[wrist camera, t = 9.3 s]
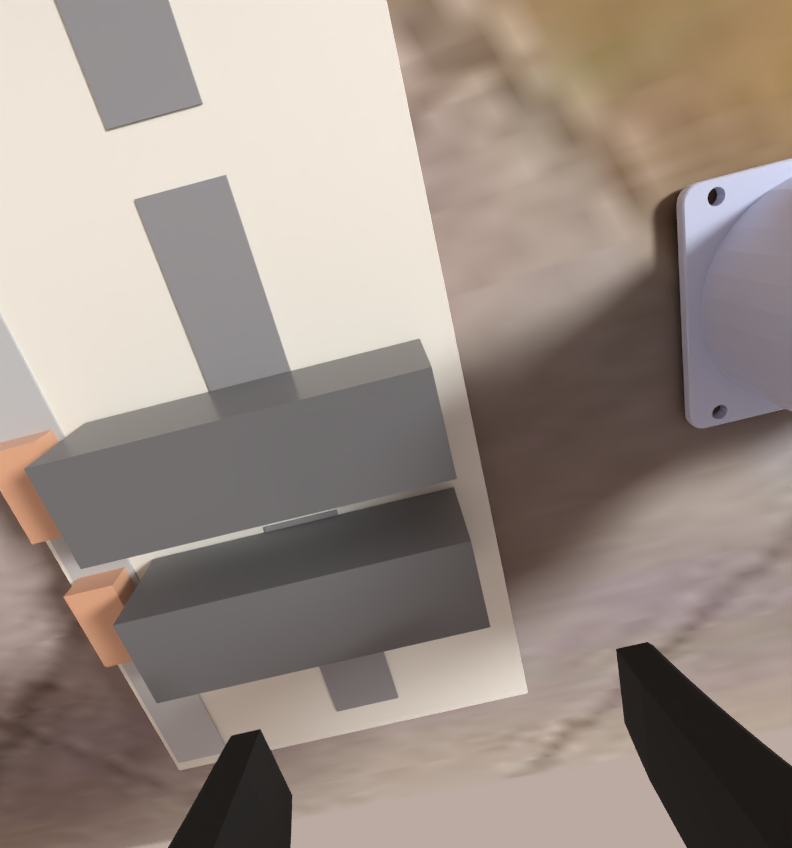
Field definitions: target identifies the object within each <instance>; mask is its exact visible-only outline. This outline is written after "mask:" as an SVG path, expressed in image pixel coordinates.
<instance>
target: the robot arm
mask: <svg viewBox="0 0 792 848" xmlns="http://www.w3.org/2000/svg"><path fill="white" fill-rule="evenodd" d="M713 188H714V189H715V190H716V192H717V198H716V201H715V202H714V203H713V204H712V205H710V204H709V203H708V200H707V198H708V194H709V192H710V191H711V190H712V189H713ZM676 208H677V232H678V256H679V279H680V303H681V327H682V351H683V374H684V398H685V417H686V420H687V421H688V422H689V423H690V424H691V425H693V426H694V427H696V428H699V429H700V428H708V427H712V426H716V425H720V424H724V423H729V422H733V421H737V420H741V419H745V418H749V417H754V416H758V415H762V414H766V413H770V412H774V411H779V410H783V409H787V410H789V411H791V412H792V158H789V159H785V160H781V161H777V162H773V163H769V164H765V165H762V166H758V167H754V168H750V169H746V170H742V171H738V172H735V173H731V174H727V175H723V176H719V177H715V178H711V179H707V180H704V181H700V182H696V183H692V184H690V185H688V186H686V187H685V188H684V189H683V190H682V191H681V192H680V194H679V196H678V198H677V205H676ZM719 405H720V410H719V411H718V413H716V414H714V415H712V412H713V410H714V408H715V407H717V406H719ZM616 651H617V660H618V669H619V678H620V686H621V695H622V704H623V712H624V721H625V725H626V727H627V729H628V732H629V734H630V736H631V739H632V741H633V743H634V746H635V748H636V750H637V752H638V755H639V757H640V759H641V761H642V764H643V766H644V768H645V770H646V772H647V775H648V777H649V779H650V781H651V783H652V785H653V787H654V789H655V790H656V792H657V794H658V796H659V798H660V800H661V802H662V803H663V805H664V807H665V809H666V811H667V813H668V814H669V816H670V818H671V820H672V821H673V823H674V825H675V827H676V829H677V831H678V832H679V834H680V836H681V838H682V840H683V841H684V843H685V845H686V847H687V848H792V766H791V765H790V764H788V763H787V762H786V761H785V760H783V759H782V758H781V757H779V756H778V755H777V754H776V753H775V752H773V751H772V750H771V749H770V748H768V747H767V746H766V745H765V744H763V743H762V742H761V741H760V740H759V739H757V738H756V737H755V736H754V735H753V734H751V733H750V732H749V731H748V730H747V729H745V728H744V727H743V726H742V725H741V724H739V723H738V722H737V721H736V720H735V719H733V718H732V717H731V716H730V715H729V714H727V713H726V712H725V711H724V710H723V709H722V708H720V707H719V706H718V705H717V704H716V703H715V702H714V701H712V700H711V699H710V698H709V697H708V696H707V695H706V694H705V693H703V692H702V691H701V690H700V689H699V688H698V687H697V686H696V685H695V684H693V683H692V682H691V681H690V680H689V679H688V678H687V677H686V676H685V675H684V674H682V673H681V672H680V671H679V670H678V669H677V668H676V667H675V666H674V665H673V664H672V663H671V662H670V661H669V660H668V659H667V658H666V657H664V656H663V655H662V654H661V653H660V652H659V651H658V650H657V649H656V648H655V647H654V646H653V645H651V644H650V643H648V642H646V643H641V644H637V645H632V646H628V647H624V648H619V649H616ZM291 819H292V794H291V792H290V790H289V788H288V786H287V784H286V781H285V779H284V777H283V775H282V773H281V771H280V769H279V767H278V765H277V763H276V761H275V758H274V756H273V754H272V752H271V750H270V748H269V746H268V744H267V742H266V740H265V738H264V735H263V733H262V731H261V729H258V730H254V731H250V732H245V733H241V734H236V735H232V736H231V737H230V738H229V740H228V742H227V743H226V745H225V747H224V749H223V751H222V752H221V754H220V756H219V758H218V760H217V761H216V763H215V765H214V767H213V769H212V771H211V772H210V774H209V776H208V778H207V780H206V782H205V783H204V785H203V787H202V789H201V791H200V793H199V794H198V796H197V798H196V800H195V802H194V803H193V805H192V807H191V809H190V811H189V812H188V814H187V816H186V818H185V819H184V821H183V823H182V825H181V826H180V828H179V830H178V832H177V833H176V835H175V837H174V838H173V840H172V842H171V844H170V845H169V847H168V848H290V843H291Z"/></svg>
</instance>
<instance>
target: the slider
mask: <svg viewBox="0 0 792 848" xmlns="http://www.w3.org/2000/svg"><path fill="white" fill-rule="evenodd" d="M113 627H114V629H115V631H116V632H117V634H118V636H119V638H120V639H121V641H122V643H123V645H124V647H125V648H126V650H127V652H128V654H129V655H130V657H131V659H132V661H133V662H134V664H135V666H136V668H137V670H138V671H139V673H140V675H141V677H142V678H143V680H144V682H145V684H146V685H147V687H148V689H149V691H150V692H151V694H152V696H153V698H154V700H155V701H156V703H161V702H165V701H170V700H174V699H179V698H183V697H187V696H192V695H196V694H200V693H205V692H209V691H214V690H218V689H222V688H227V687H231V686H235V685H240V684H244V683H249V682H253V681H257V680H262V679H266V678H270V677H275V676H279V675H284V674H288V673H292V672H297V671H301V670H306V669H310V668H314V667H319V666H323V665H327V664H332V663H336V662H341V661H345V660H349V659H354V658H358V657H362V656H367V655H371V654H376V653H380V652H384V651H389V650H393V649H397V648H402V647H406V646H411V645H415V644H419V643H424V642H428V641H432V640H437V639H441V638H446V637H450V636H454V635H459V634H463V633H467V632H472V631H476V630H481V629H485V628H489V627H490V623H489V618H488V614H487V609H486V605H485V601H484V596H483V592H482V587H481V583H480V578H479V574H478V570H477V565H476V561H475V556H474V552H473V547H472V543H471V539H470V536H469V533H468V530H467V527H466V524H465V521H464V517H463V514H462V511H461V508H460V505H459V502H458V499H457V495H456V492H455V489H454V487H452V488H448V489H444V490H440V491H436V492H432V493H427V494H423V495H419V496H415V497H411V498H407V499H402V500H398V501H394V502H390V503H386V504H382V505H377V506H373V507H369V508H365V509H361V510H357V511H352V512H348V513H344V514H340V515H336V516H332V517H327V518H323V519H319V520H315V521H311V522H307V523H302V524H298V525H294V526H290V527H286V528H282V529H277V530H273V531H269V532H265V533H261V534H257V535H252V536H248V537H244V538H240V539H236V540H232V541H227V542H223V543H219V544H215V545H211V546H207V547H202V548H198V549H194V550H190V551H186V552H182V553H177V554H173V555H169V556H165V557H161V558H157V559H153V560H152V562H151V564H150V565H149V567H148V569H147V570H146V572H145V573H144V575H143V577H142V578H141V580H140V582H139V583H138V585H137V587H136V588H135V590H134V591H133V593H132V595H131V596H130V598H129V600H128V601H127V603H126V605H125V606H124V608H123V609H122V611H121V613H120V614H119V616H118V618H117V619H116V621H115V622H114V624H113Z"/></svg>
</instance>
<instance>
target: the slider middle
mask: <svg viewBox="0 0 792 848" xmlns="http://www.w3.org/2000/svg"><path fill="white" fill-rule="evenodd" d="M24 470H25V472H26V474H27V475H28V477H29V479H30V481H31V482H32V484H33V486H34V488H35V489H36V491H37V493H38V495H39V497H40V498H41V500H42V502H43V504H44V505H45V507H46V509H47V511H48V512H49V514H50V516H51V518H52V519H53V521H54V523H55V525H56V527H57V528H58V530H59V532H60V534H61V535H62V537H63V539H64V541H65V542H66V544H67V546H68V548H69V549H70V551H71V553H72V555H73V557H74V558H75V560H76V562H77V564H78V565H79V567H80V569H84V568H89V567H93V566H97V565H101V564H105V563H109V562H113V561H118V560H122V559H126V558H130V557H134V556H138V555H143V554H147V553H151V552H155V551H159V550H163V549H168V548H172V547H176V546H180V545H184V544H188V543H192V542H197V541H201V540H205V539H209V538H213V537H217V536H222V535H226V534H230V533H234V532H238V531H242V530H246V529H251V528H255V527H259V526H263V525H267V524H271V523H276V522H280V521H284V520H288V519H292V518H296V517H301V516H305V515H309V514H313V513H317V512H321V511H325V510H330V509H334V508H338V507H342V506H346V505H350V504H355V503H359V502H363V501H367V500H371V499H375V498H380V497H384V496H388V495H392V494H396V493H400V492H404V491H409V490H413V489H417V488H421V487H425V486H429V485H434V484H438V483H442V482H446V481H450V480H454V479H457V477H456V472H455V468H454V463H453V459H452V455H451V450H450V446H449V441H448V437H447V432H446V428H445V424H444V419H443V415H442V410H441V406H440V401H439V397H438V393H437V388H436V384H435V379H434V375H433V371H432V367H431V364H430V362H429V359H428V357H427V355H426V352H425V350H424V348H423V345H422V343H421V340H420V339H416V340H412V341H408V342H404V343H400V344H396V345H392V346H388V347H384V348H380V349H376V350H372V351H368V352H364V353H360V354H356V355H352V356H348V357H344V358H340V359H336V360H332V361H328V362H324V363H320V364H317V365H313V366H309V367H305V368H301V369H297V370H293V371H289V372H285V373H281V374H277V375H273V376H269V377H265V378H261V379H257V380H253V381H249V382H245V383H241V384H237V385H233V386H229V387H225V388H221V389H217V390H213V391H209V392H205V393H201V394H198V395H194V396H190V397H186V398H182V399H178V400H174V401H170V402H166V403H162V404H158V405H154V406H150V407H146V408H142V409H138V410H134V411H130V412H126V413H122V414H118V415H114V416H110V417H106V418H102V419H98V420H94V421H90V422H86V423H84V424H83V425H81V426H80V427H79V428H77V429H76V430H75V431H73V432H72V433H71V434H69V435H68V436H67V437H66V438H64V439H63V440H62V441H60V442H59V443H58V444H56V445H55V446H54V447H52V448H51V449H50V450H48V451H47V452H46V453H44V454H43V455H42V456H40V457H39V458H38V459H36V460H35V461H34V462H32V463H31V464H30V465H28V466H27V467H26V468H24Z"/></svg>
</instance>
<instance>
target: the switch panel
mask: <svg viewBox="0 0 792 848" xmlns="http://www.w3.org/2000/svg"><path fill="white" fill-rule="evenodd" d="M416 339H420V340H421V343H422V345H423V348H424V350H425V352H426V355H427V357H428V359H429V362H430V364H431V367H432V371H433V375H434V379H435V384H436V388H437V393H438V397H439V401H440V406H441V410H442V415H443V419H444V424H445V428H446V432H447V437H448V441H449V446H450V450H451V455H452V459H453V463H454V468H455V472H456V477H457V479H454V480H450V481H446V482H442V483H438V484H434V485H429V486H425V487H421V488H417V489H413V490H409V491H404V492H400V493H396V494H392V495H388V496H384V497H380V498H375V499H371V500H367V501H363V502H359V503H355V504H350V505H346V506H342V507H338V508H334V509H330V510H325V511H321V512H317V513H313V514H309V515H305V516H301V517H296V518H292V519H288V520H284V521H280V522H276V523H271V524H267V525H263V526H259V527H255V528H251V529H246V530H242V531H238V532H234V533H230V534H226V535H222V536H217V537H213V538H209V539H205V540H201V541H197V542H192V543H188V544H184V545H180V546H176V547H172V548H168V549H163V550H159V551H155V552H151V553H147V554H143V555H138V556H134V557H130V558H126V559H122V560H118V561H113V562H109V563H105V564H101V565H97V566H93V567H89V568H84V569H80V567H79V565H78V564H77V562H76V560H75V558H74V557H73V555H72V553H71V551H70V549H69V548H68V546H67V544H66V542H65V541H64V539H63V537H62V535H61V534H60V532H59V530H58V528H57V527H56V525H55V523H54V521H53V519H52V518H51V516H50V514H49V512H48V511H47V509H46V507H45V505H44V504H43V502H42V500H41V498H40V497H39V495H38V493H37V491H36V489H35V488H34V486H33V484H32V482H31V481H30V479H29V477H28V475H27V474H26V472H25V470H24V468H26V467H27V466H28V465H30V464H31V463H32V462H34V461H35V460H36V459H38V458H39V457H40V456H42V455H43V454H44V453H46V452H47V451H48V450H50V449H51V448H52V447H54V446H55V445H56V444H58V443H59V442H60V441H62V440H63V439H64V438H66V437H67V436H68V435H69V434H71V433H72V432H73V431H75V430H76V429H77V428H79V427H80V426H81V425H83V424H84V423H86V422H90V421H94V420H98V419H102V418H106V417H110V416H114V415H118V414H122V413H126V412H130V411H134V410H138V409H142V408H146V407H150V406H154V405H158V404H162V403H166V402H170V401H174V400H178V399H182V398H186V397H190V396H194V395H198V394H201V393H205V392H209V391H213V390H217V389H221V388H225V387H229V386H233V385H237V384H241V383H245V382H249V381H253V380H257V379H261V378H265V377H269V376H273V375H277V374H281V373H285V372H289V371H293V370H297V369H301V368H305V367H309V366H313V365H317V364H320V363H324V362H328V361H332V360H336V359H340V358H344V357H348V356H352V355H356V354H360V353H364V352H368V351H372V350H376V349H380V348H384V347H388V346H392V345H396V344H400V343H404V342H408V341H412V340H416ZM452 487H454V489H455V492H456V495H457V499H458V502H459V505H460V508H461V511H462V514H463V517H464V521H465V524H466V527H467V530H468V533H469V536H470V539H471V543H472V547H473V552H474V556H475V561H476V565H477V570H478V574H479V578H480V583H481V587H482V592H483V596H484V601H485V605H486V609H487V614H488V618H489V623H490V627H489V628H485V629H481V630H476V631H472V632H467V633H463V634H459V635H454V636H450V637H446V638H441V639H437V640H432V641H428V642H424V643H419V644H415V645H411V646H406V647H402V648H397V649H393V650H389V651H384V652H380V653H376V654H371V655H367V656H362V657H358V658H354V659H349V660H345V661H341V662H336V663H332V664H327V665H323V666H319V667H314V668H310V669H306V670H301V671H297V672H292V673H288V674H284V675H279V676H275V677H270V678H266V679H262V680H257V681H253V682H249V683H244V684H240V685H235V686H231V687H227V688H222V689H218V690H214V691H209V692H205V693H200V694H196V695H192V696H187V697H183V698H179V699H174V700H170V701H165V702H161V703H156V701H155V700H154V698H153V696H152V694H151V692H150V691H149V689H148V687H147V685H146V684H145V682H144V680H143V678H142V677H141V675H140V673H139V671H138V670H137V668H136V666H135V664H134V662H133V661H132V659H131V657H130V655H129V654H128V652H127V650H126V648H125V647H124V645H123V643H122V641H121V639H120V638H119V636H118V634H117V632H116V631H115V629H114V627H113V624H114V622H115V621H116V619H117V618H118V616H119V614H120V613H121V611H122V609H123V608H124V606H125V605H126V603H127V601H128V600H129V598H130V596H131V595H132V593H133V591H134V590H135V588H136V587H137V585H138V583H139V582H140V580H141V578H142V577H143V575H144V573H145V572H146V570H147V569H148V567H149V565H150V564H151V562H152V560H153V559H157V558H161V557H165V556H169V555H173V554H177V553H182V552H186V551H190V550H194V549H198V548H202V547H207V546H211V545H215V544H219V543H223V542H227V541H232V540H236V539H240V538H244V537H248V536H252V535H257V534H261V533H265V532H269V531H273V530H277V529H282V528H286V527H290V526H294V525H298V524H302V523H307V522H311V521H315V520H319V519H323V518H327V517H332V516H336V515H340V514H344V513H348V512H352V511H357V510H361V509H365V508H369V507H373V506H377V505H382V504H386V503H390V502H394V501H398V500H402V499H407V498H411V497H415V496H419V495H423V494H427V493H432V492H436V491H440V490H444V489H448V488H452ZM0 491H1V493H2V495H3V496H4V498H5V500H6V501H7V503H8V505H9V506H10V508H11V510H12V511H13V513H14V515H15V516H16V518H17V520H18V522H19V523H20V525H21V527H22V528H23V530H24V532H25V533H26V535H27V537H28V538H29V540H30V542H31V543H32V544H36V543H40V542H44V541H46V543H47V544H48V546H49V548H50V550H51V551H52V553H53V555H54V557H55V558H56V560H57V562H58V563H59V565H60V567H61V569H62V570H63V572H64V574H65V575H66V577H67V579H68V581H69V582H70V584H71V586H72V587H71V588H70V589H69V590H68V592H67V593H66V594H65V596H64V599H65V600H66V602H67V604H68V605H69V607H70V609H71V611H72V612H73V614H74V616H75V617H76V619H77V621H78V622H79V624H80V626H81V627H82V629H83V631H84V632H85V634H86V636H87V637H88V639H89V641H90V642H91V644H92V646H93V647H94V649H95V651H96V652H97V654H98V656H99V658H100V659H101V661H102V663H103V664H104V666H105V668H106V667H110V666H114V665H118V666H119V668H120V670H121V671H122V673H123V675H124V677H125V678H126V680H127V682H128V684H129V685H130V687H131V689H132V690H133V692H134V694H135V696H136V697H137V699H138V701H139V702H140V704H141V706H142V708H143V709H144V711H145V713H146V714H147V716H148V718H149V720H150V721H151V723H152V725H153V726H154V728H155V730H156V732H157V733H158V735H159V737H160V738H161V740H162V742H163V744H164V745H165V747H166V749H167V750H168V752H169V754H170V756H171V757H172V759H173V761H174V762H175V764H176V766H177V768H178V769H179V771H180V770H184V769H189V768H193V767H198V766H202V765H207V764H211V763H216V761H217V760H218V758H219V756H220V754H221V752H222V751H223V749H224V747H225V745H226V743H227V742H228V740H229V738H230V737H231V736H232V735H236V734H241V733H245V732H250V731H254V730H258V729H261V731H262V733H263V735H264V738H265V740H266V742H267V744H268V746H269V748H270V750H274V749H279V748H283V747H288V746H292V745H297V744H301V743H306V742H310V741H315V740H319V739H324V738H328V737H333V736H337V735H342V734H346V733H351V732H355V731H360V730H364V729H369V728H373V727H378V726H382V725H387V724H391V723H395V722H400V721H404V720H409V719H413V718H418V717H422V716H427V715H431V714H436V713H440V712H445V711H449V710H454V709H458V708H463V707H467V706H472V705H476V704H481V703H485V702H490V701H494V700H499V699H503V698H508V697H512V696H517V695H521V694H526V693H528V691H527V686H526V681H525V676H524V671H523V666H522V661H521V656H520V652H519V647H518V642H517V637H516V632H515V627H514V622H513V617H512V612H511V607H510V603H509V598H508V593H507V588H506V583H505V578H504V573H503V568H502V563H501V559H500V554H499V549H498V544H497V539H496V534H495V529H494V524H493V519H492V514H491V510H490V505H489V500H488V495H487V490H486V485H485V480H484V475H483V470H482V466H481V461H480V456H479V451H478V446H477V441H476V436H475V431H474V426H473V421H472V417H471V412H470V407H469V402H468V397H467V392H466V387H465V382H464V377H463V373H462V368H461V363H460V358H459V353H458V348H457V343H456V338H455V333H454V328H453V324H452V319H451V314H450V309H449V304H448V299H447V294H446V289H445V284H444V280H443V275H442V270H441V265H440V260H439V255H438V250H437V245H436V240H435V235H434V231H433V226H432V221H431V216H430V211H429V206H428V201H427V196H426V191H425V187H424V182H423V177H422V172H421V167H420V162H419V157H418V152H417V147H416V142H415V138H414V133H413V128H412V123H411V118H410V113H409V108H408V103H407V98H406V94H405V89H404V84H403V79H402V74H401V69H400V64H399V59H398V54H397V50H396V45H395V40H394V35H393V30H392V25H391V20H390V15H389V10H388V5H387V1H386V0H0Z"/></svg>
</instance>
